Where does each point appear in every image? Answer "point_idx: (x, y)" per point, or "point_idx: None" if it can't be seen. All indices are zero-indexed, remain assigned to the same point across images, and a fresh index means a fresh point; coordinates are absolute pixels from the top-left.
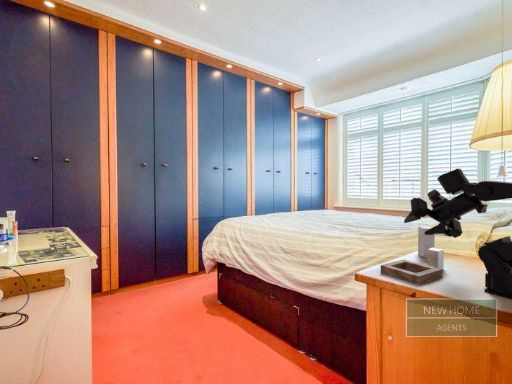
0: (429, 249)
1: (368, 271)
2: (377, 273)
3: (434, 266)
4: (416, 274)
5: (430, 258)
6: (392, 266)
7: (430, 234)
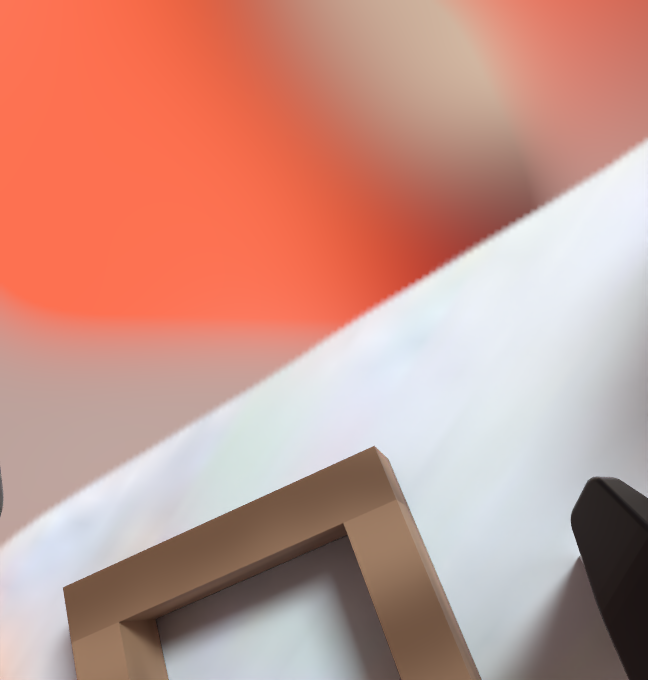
0: None
1: (39, 547)
2: None
3: None
4: None
5: None
6: (162, 605)
7: (634, 649)
